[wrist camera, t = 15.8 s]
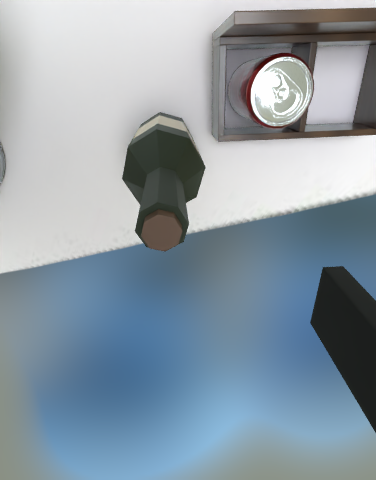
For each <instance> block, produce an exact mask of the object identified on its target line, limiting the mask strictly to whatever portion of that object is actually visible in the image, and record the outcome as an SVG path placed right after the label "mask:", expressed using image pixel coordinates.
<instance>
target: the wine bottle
mask: <svg viewBox="0 0 376 480" xmlns="http://www.w3.org/2000/svg"><path fill="white" fill-rule="evenodd" d="M204 170H205V165H204V163H203V161H202V158H201V156H200V154H199V152H198V149H197V147H196V145H195V143H194V140H193V138H192V136H191V134H190V133H189V131H188V129H187V127H186V125H185V123H184V121H183V120H182V118H178V117H175V116H171V115H168V114H164V113H161V112H160V113H158V114H157V115H155V116H154V117H152V118H150V119H149V120H147V121H146V122H144V123H142V124H141V126H140V127H139V129H138V131H137V132H136V134H135V136H134V138H133V139H132V141H131V143H130V144H129V146H128V149H127V155H126V161H125V166H124V172H123V177H122V179H123V181H124V182H125V184H126V185H127V186H128V188H129V189H130V191H131V192H132V194H133V195H134V197H135V198H136V199H137V201H138V202H139V204H140V210H139V215H138V219H137V224H136V229H135V232H136V233H137V235H138V236H139V238H140V239H141V240H142V242H143V243H144V244H145V246H146V247H149V248H151V249H155V250H161V251H167V250H169V249H171V248H172V247H175V246H176V245H178V244H180V243H182V242H184V239H185V235H186V232H187V229H188V225H189V221H188V215H187V208H186V203H187V202H188V201H190V200H192V199H194V198H196V197H197V194H198V190H199V187H200V184H201V180H202V177H203V174H204Z"/></svg>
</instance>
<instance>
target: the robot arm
mask: <svg viewBox="0 0 376 480" xmlns="http://www.w3.org/2000/svg"><path fill="white" fill-rule="evenodd" d="M4 172H5V158H4V153H3V149H2V146H1V144H0V184H1V182H2V179H3V176H4ZM310 323H311V325H312V326H313V328H314V330H315V331H316V333H317V335H318V337H319V338H320V340H321V342H322V343H323V345H324V347H325V348H326V350H327V351H328V353H329V355H330V357H331V358H332V360H333V362H334V364H335V365H336V367H337V369H338V370H339V372H340V373H341V375H342V377H343V379H344V380H345V382H346V384H347V385H348V387H349V389H350V390H351V392H352V394H353V395H354V397H355V399H356V400H357V402H358V404H359V405H360V407H361V409H362V411H363V412H364V414H365V416H366V417H367V419H368V421H369V422H370V424H371V426H372V427H373V429H374V431H375V432H376V301H375V300H374V298H372V296H371V295H370V294H369V293H368V292H367V291H366V290H365V289H364V288H363V287H362V286H361V285H360V284H359V283H358V282H357V281H356V280H355V278H353V276H352V275H351V274H350V273H349V272H348V271H347V270H346V269H345V268H344V267H343V266H340V267H323V270H322V274H321V278H320V283H319V287H318V291H317V296H316V301H315V305H314V309H313V314H312V318H311V322H310Z"/></svg>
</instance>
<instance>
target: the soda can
mask: <svg viewBox="0 0 376 480" xmlns="http://www.w3.org/2000/svg"><path fill="white" fill-rule="evenodd" d="M313 91H314V80H313V75H312V72H311V70H310V67H309V66H308V65H307V63H306V62H305V61H304V60H303V59H302V58H301V57H299V56H297V55H295V54H291V53H279V54H275V55H270V56H266V57H262V58H258V59H254V60H250V61H247V62H245V63H243V64H242V65H241V66H239V67H238V68H237V69H236V71H235V72H234V73H233V75H232V77H231V79H230V82H229V86H228V97H229V101H230V104H231V106H232V108H233V109H234V110H235V112H236V113H238V114H239V115H240V116H242V117H244V118H247V119H249V120H251V121H253V122H255V123H257V124H259V125H261V126H264V127H266V128H270V129H280V128H284V127H287V126H289V125H291V124H293V123H294V122H296V121H297V120H298V119H299V118H300V117H301V116H302V115H303V114H304V113H305V111H306V110H307V108H308V106H309V105H310V103H311V100H312V97H313Z"/></svg>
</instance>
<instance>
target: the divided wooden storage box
mask: <svg viewBox="0 0 376 480" xmlns="http://www.w3.org/2000/svg"><path fill="white" fill-rule="evenodd" d="M351 45H370V47H369V52H368V56H367V61H366V66H365V70H364V75H363V80H362V84H361V89H360V94H359V98H358V103H357V107H356V112H355V117H354V121H353V123H340V124H315V125H306V119H307V112H308V108H307V110H306V111H305V113H304V114H303V115H302V116H301V117H300V118H299V119H298V120H297V121H296V122H294V123H293V124H291V125H289V126H287V127H284V128H280V129H270V128H266V127H242V128H224V125H225V86H226V49H251V48H284V47H292V54H295V55H297V56H299V57H301V58H302V59H303V60H304V61H305V62H306V63H307V65H308V66H309V67H310V70H311V72H312V75H313V71H314V64H315V57H316V51H317V46H351ZM212 135H213V136H214V137H215V138H216V140H217V141H218V142H222V141H245V140H268V139H292V138H315V137H338V136H361V135H376V8H346V9H306V10H266V11H235V12H234V13H233V14H232V15H231V16H230V17H229V18H228V19H227V20H226V21H225V22H224V23H223V24H222V25H221V26H220V27H219V28H218V29H217V30H216V31H215V32H214V33H213V62H212Z"/></svg>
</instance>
